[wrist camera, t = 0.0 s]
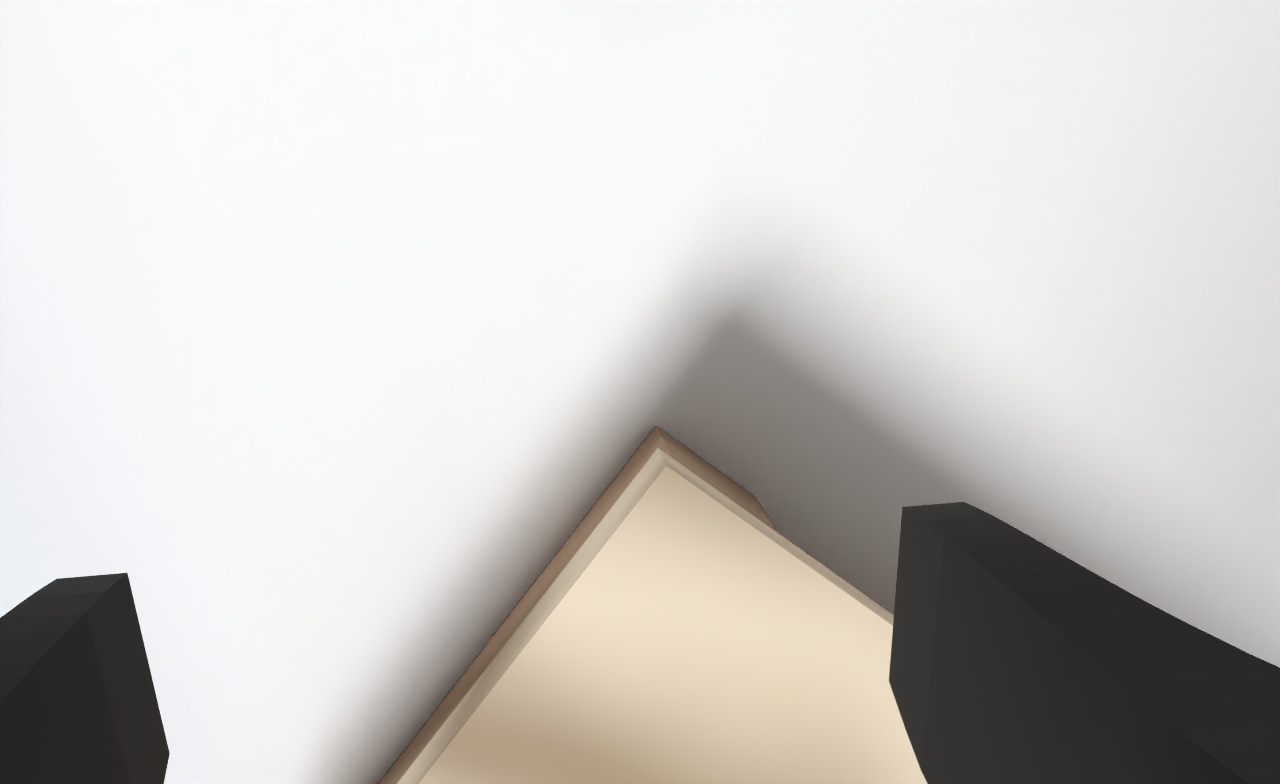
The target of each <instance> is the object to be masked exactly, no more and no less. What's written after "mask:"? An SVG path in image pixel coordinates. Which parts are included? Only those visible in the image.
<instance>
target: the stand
mask: <svg viewBox="0 0 1280 784" xmlns="http://www.w3.org/2000/svg"><path fill="white" fill-rule="evenodd" d="M893 621H894V615H893V614H891V613H890V612H888V611H887V610H886V609H884V608H883V607H881V606H880V605H879V604H877V603H876V602H874V601H873V600H872V599H870V598H869V597H867V596H866V595H864V594H863V593H862V592H860V591H859V590H857V589H856V588H855V587H853V586H852V585H850V584H849V583H848V582H846V581H845V580H843V579H842V578H841V577H839V576H838V575H836V574H835V573H834V572H832V571H831V570H829V569H828V568H826V567H825V566H824V565H822V564H821V563H819V562H818V561H817V560H815V559H814V558H812V557H811V556H810V555H808V554H807V553H805V552H804V551H803V550H801V549H800V548H798V547H797V546H796V545H794V544H793V543H791V542H790V541H788V540H787V539H786V538H784V537H783V536H781V535H780V534H779V533H778V531H777V530H776V528H775V527H774V525H773V524H772V522H771V521H770V519H769V518H768V516H767V515H766V513H765V512H764V510H763V508H762V507H761V505H760V504H759V502H758V501H757V499H756V498H755V496H753V495H752V494H751V493H749V492H748V491H746V490H745V489H744V488H742V487H741V486H739V485H738V484H737V483H735V482H734V481H732V480H731V479H730V478H728V477H727V476H725V475H724V474H723V473H721V472H720V471H718V470H717V469H716V468H714V467H713V466H711V465H710V464H709V463H707V462H706V461H704V460H703V459H702V458H700V457H699V456H697V455H696V454H695V453H693V452H692V451H690V450H689V449H688V448H686V447H685V446H683V445H682V444H681V443H679V442H678V441H676V440H675V439H674V438H672V437H671V436H669V435H668V434H667V433H665V432H664V431H662V430H661V429H660V428H658V427H657V426H655V427H654V429H653V430H652V431H651V433H650V434H649V435H648V436H647V438H646V439H645V440H644V442H643V443H642V444H641V445H640V447H639V448H638V449H637V451H636V452H635V453H634V454H633V456H632V457H631V458H630V460H629V461H628V462H627V464H626V465H625V466H624V467H623V469H622V470H621V471H620V473H619V474H618V475H617V476H616V478H615V479H614V480H613V482H612V483H611V484H610V485H609V487H608V488H607V489H606V491H605V492H604V493H603V495H602V496H601V497H600V498H599V500H598V501H597V502H596V504H595V505H594V506H593V507H592V509H591V510H590V511H589V513H588V514H587V515H586V516H585V518H584V519H583V520H582V522H581V523H580V524H579V525H578V527H577V528H576V529H575V531H574V532H573V533H572V535H571V536H570V537H569V538H568V540H567V541H566V542H565V544H564V545H563V546H562V547H561V549H560V550H559V551H558V553H557V554H556V555H555V556H554V558H553V559H552V560H551V562H550V563H549V564H548V565H547V567H546V568H545V569H544V571H543V572H542V573H541V575H540V576H539V577H538V578H537V580H536V581H535V582H534V584H533V585H532V586H531V587H530V589H529V590H528V591H527V593H526V594H525V595H524V596H523V598H522V599H521V600H520V602H519V603H518V604H517V606H516V607H515V608H514V609H513V611H512V612H511V613H510V615H509V616H508V617H507V618H506V620H505V621H504V622H503V624H502V625H501V626H500V627H499V629H498V630H497V631H496V633H495V634H494V635H493V636H492V638H491V639H490V640H489V642H488V643H487V644H486V646H485V647H484V648H483V649H482V651H481V652H480V653H479V655H478V656H477V657H476V658H475V660H474V661H473V662H472V664H471V665H470V666H469V667H468V669H467V670H466V671H465V673H464V674H463V675H462V676H461V678H460V679H459V680H458V682H457V683H456V684H455V686H454V687H453V688H452V689H451V691H450V692H449V693H448V695H447V696H446V697H445V698H444V700H443V701H442V702H441V704H440V705H439V706H438V707H437V709H436V710H435V711H434V713H433V714H432V715H431V717H430V718H429V719H428V720H427V722H426V723H425V724H424V726H423V727H422V728H421V729H420V731H419V732H418V733H417V735H416V736H415V737H414V738H413V740H412V741H411V742H410V744H409V745H408V746H407V747H406V749H405V750H404V751H403V753H402V754H401V755H400V757H399V758H398V759H397V760H396V762H395V763H394V764H393V766H392V767H391V768H390V769H389V771H388V772H387V773H386V775H385V776H384V777H383V778H382V780H381V781H380V782H379V784H927V782H926V780H925V778H924V776H923V774H922V772H921V769H920V767H919V764H918V761H917V759H916V756H915V753H914V751H913V748H912V745H911V743H910V740H909V737H908V735H907V732H906V729H905V726H904V724H903V721H902V718H901V715H900V712H899V709H898V706H897V703H896V700H895V697H894V695H893V692H892V689H891V686H890V683H889V671H890V658H891V646H892V633H893Z"/></svg>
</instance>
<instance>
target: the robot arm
mask: <svg viewBox="0 0 1280 784" xmlns="http://www.w3.org/2000/svg"><path fill="white" fill-rule="evenodd" d="M889 683H890V686H891V689H892V692H893V695H894V697H895V700H896V703H897V706H898V709H899V712H900V715H901V718H902V721H903V724H904V726H905V729H906V732H907V735H908V737H909V740H910V743H911V745H912V748H913V751H914V753H915V756H916V759H917V761H918V764H919V767H920V769H921V772H922V774H923V776H924V778H925V780H926V782H927V784H1280V668H1279V667H1277V666H1275V665H1272V664H1270V663H1268V662H1266V661H1264V660H1261V659H1259V658H1257V657H1255V656H1253V655H1250V654H1248V653H1246V652H1244V651H1242V650H1240V649H1238V648H1236V647H1234V646H1232V645H1230V644H1228V643H1226V642H1224V641H1222V640H1220V639H1218V638H1216V637H1214V636H1212V635H1210V634H1208V633H1206V632H1204V631H1202V630H1200V629H1198V628H1196V627H1193V626H1191V625H1189V624H1187V623H1185V622H1183V621H1181V620H1180V619H1178V618H1176V617H1174V616H1172V615H1170V614H1168V613H1166V612H1164V611H1162V610H1161V609H1159V608H1157V607H1155V606H1153V605H1151V604H1149V603H1147V602H1145V601H1144V600H1142V599H1140V598H1138V597H1136V596H1134V595H1133V594H1131V593H1129V592H1127V591H1125V590H1123V589H1122V588H1120V587H1118V586H1116V585H1114V584H1113V583H1111V582H1109V581H1107V580H1105V579H1104V578H1102V577H1100V576H1098V575H1096V574H1095V573H1093V572H1091V571H1089V570H1088V569H1086V568H1084V567H1082V566H1081V565H1079V564H1077V563H1075V562H1074V561H1072V560H1070V559H1068V558H1067V557H1065V556H1063V555H1061V554H1060V553H1058V552H1056V551H1054V550H1053V549H1051V548H1049V547H1047V546H1046V545H1044V544H1042V543H1040V542H1039V541H1037V540H1035V539H1033V538H1032V537H1030V536H1028V535H1026V534H1025V533H1023V532H1021V531H1019V530H1017V529H1016V528H1014V527H1012V526H1010V525H1008V524H1007V523H1005V522H1003V521H1001V520H999V519H997V518H996V517H994V516H992V515H990V514H988V513H986V512H984V511H982V510H980V509H978V508H976V507H974V506H971V505H969V504H967V503H965V502H958V503H946V504H934V505H922V506H911V507H903V508H902V521H901V533H900V546H899V558H898V571H897V583H896V596H895V608H894V621H893V633H892V646H891V658H890V671H889ZM168 758H169V749H168V745H167V741H166V737H165V732H164V728H163V724H162V720H161V715H160V711H159V707H158V702H157V698H156V694H155V690H154V685H153V681H152V677H151V673H150V668H149V664H148V660H147V655H146V651H145V647H144V643H143V638H142V634H141V630H140V625H139V621H138V617H137V613H136V608H135V604H134V600H133V596H132V591H131V587H130V583H129V578H128V574H127V573H121V574H109V575H97V576H85V577H74V578H62V579H56V580H54V581H53V582H51V583H50V584H48V585H46V586H45V587H43V588H42V589H40V590H38V591H37V592H36V593H34V594H33V595H31V596H30V597H28V598H27V599H26V600H24V601H23V602H21V603H20V604H19V605H17V606H16V607H15V608H13V609H12V610H11V611H9V612H8V613H6V614H5V615H4V616H2V617H1V618H0V784H164V779H165V774H166V769H167V763H168Z"/></svg>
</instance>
